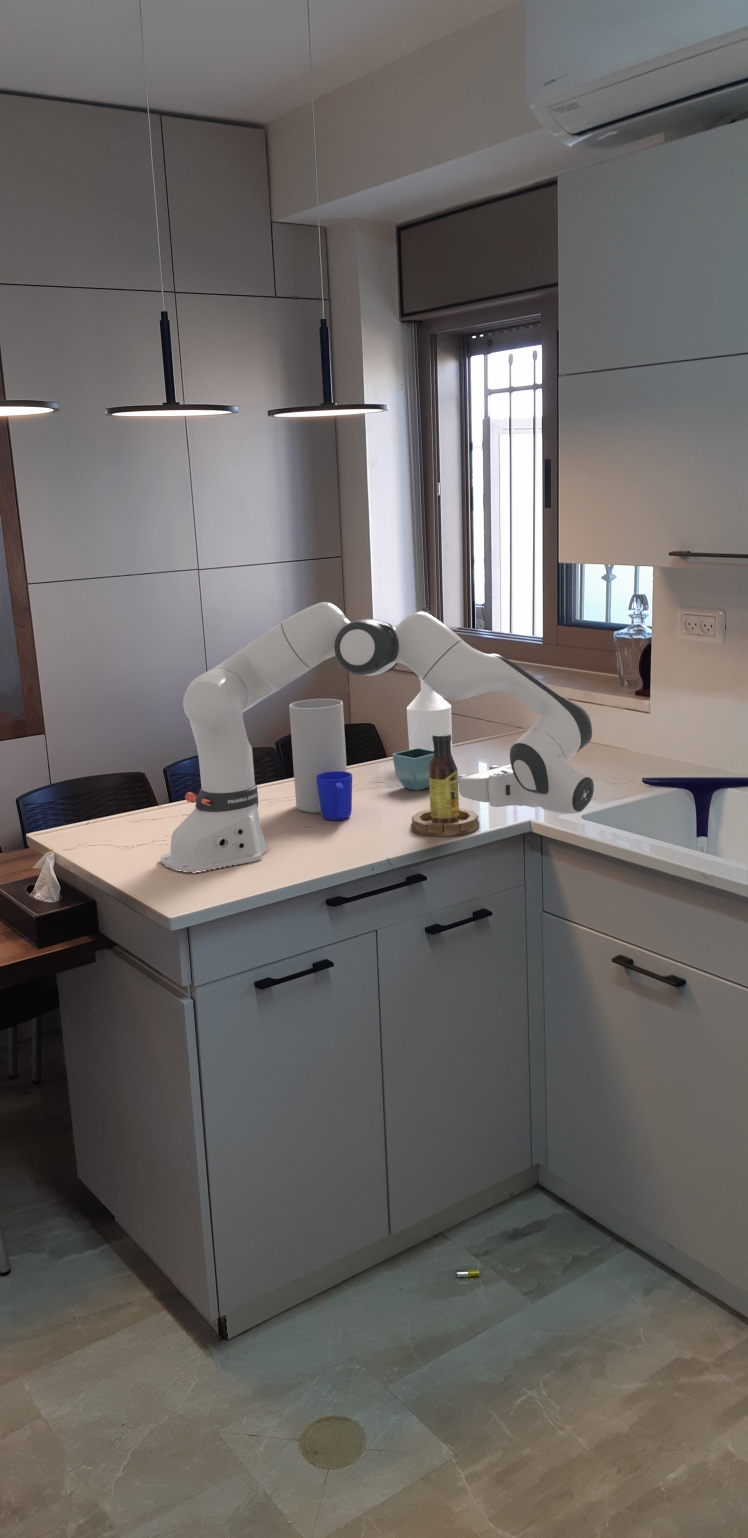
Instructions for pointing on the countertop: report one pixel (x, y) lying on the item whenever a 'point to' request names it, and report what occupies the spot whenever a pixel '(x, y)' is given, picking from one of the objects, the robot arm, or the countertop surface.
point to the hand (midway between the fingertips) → (475, 774)
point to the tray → (427, 828)
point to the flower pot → (413, 768)
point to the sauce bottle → (443, 782)
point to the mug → (335, 794)
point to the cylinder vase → (316, 746)
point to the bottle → (427, 718)
